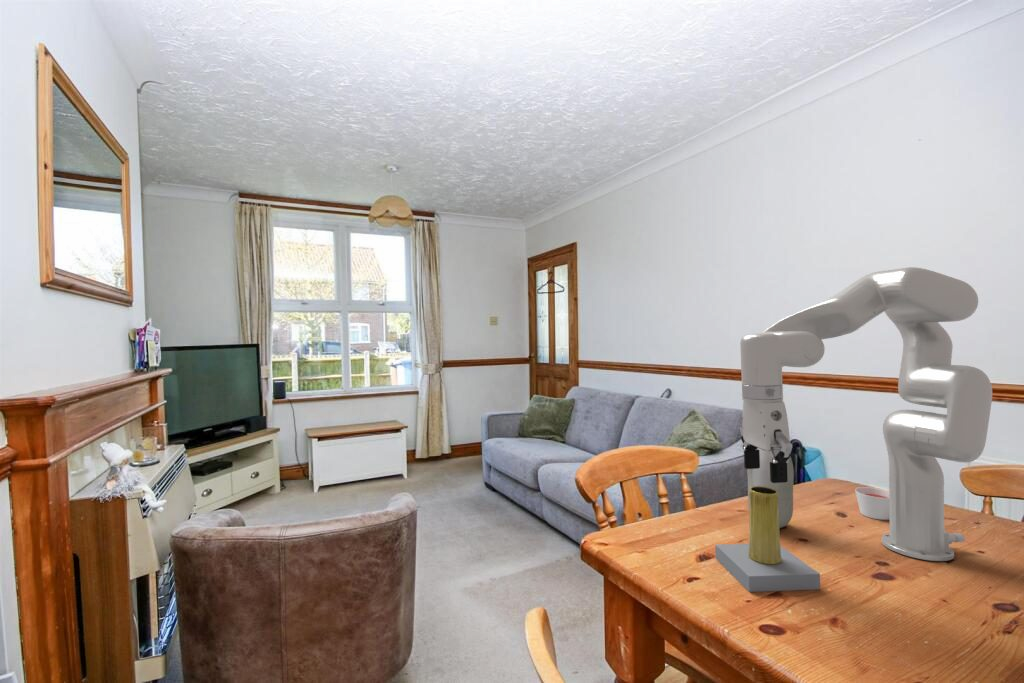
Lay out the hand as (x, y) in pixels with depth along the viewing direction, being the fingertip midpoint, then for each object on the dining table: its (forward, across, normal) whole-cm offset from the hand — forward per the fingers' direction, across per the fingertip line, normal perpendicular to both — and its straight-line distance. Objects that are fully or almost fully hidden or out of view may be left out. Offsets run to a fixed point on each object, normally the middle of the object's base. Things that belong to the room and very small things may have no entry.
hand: (764, 474), depth 98 cm
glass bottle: (+21, +23, -14) cm, 34 cm away
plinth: (+20, 0, +1) cm, 20 cm away
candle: (+22, +28, -46) cm, 58 cm away
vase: (+18, 0, +1) cm, 18 cm away
